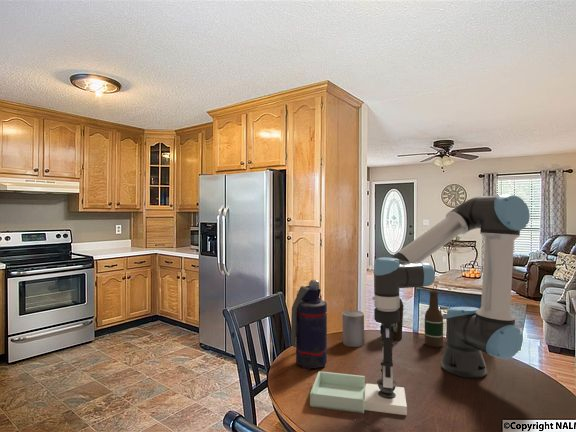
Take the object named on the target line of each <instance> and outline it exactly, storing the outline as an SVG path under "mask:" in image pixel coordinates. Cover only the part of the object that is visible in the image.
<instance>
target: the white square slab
mask: <svg viewBox="0 0 576 432" xmlns="http://www.w3.org/2000/svg"><path fill="white" fill-rule="evenodd" d="M365 387H366V388H365V401H364V411H371V412H377V413H378V412H379V413H385V414H394V415H400V416H401V415H402V416H407V415H408V405H407V400H406V399H407V397H406V391H405V387H402V386H396V387H395V390H394V391H393V392H394V393H395V394H396V396H395V398H392V399H386V398H382V397H380V396H379V395H378V392H379V391H380V389H379V387H378V384H375V383H365Z"/></svg>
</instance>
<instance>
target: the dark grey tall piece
mask: <svg viewBox="0 0 576 432" xmlns="http://www.w3.org/2000/svg"><path fill="white" fill-rule="evenodd" d="M386 362H390V361H386ZM381 363H383V359H382V360H381ZM380 371H381V378H379V379H378V380H377V381H376V383H377V384H376V385H378V387H379V389H380V391H379V392H378V395H379V396H380V397H382V398H386V399H392V398H395V396H396V394H395V393H394V392H393V391H394V390H395V387H397V382H396V381H395V380H393V388H385V387H383V366H381V369H380Z"/></svg>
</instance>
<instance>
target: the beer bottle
mask: <svg viewBox="0 0 576 432" xmlns="http://www.w3.org/2000/svg"><path fill="white" fill-rule="evenodd" d="M428 293H429V303H428V308H427V310H426V312H425V313H424V344H425V345H426V346H428V347H431V348H441V347H443V346H444V317H443V314H442V312H441V311H440V307H439V298H438V297H439V291H437V290H435V289H431V290H429V292H428Z"/></svg>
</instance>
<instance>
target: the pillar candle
mask: <svg viewBox="0 0 576 432" xmlns="http://www.w3.org/2000/svg"><path fill="white" fill-rule="evenodd" d="M342 344H343V345H344V346H346V347H350V348H351V347H352V348H353V347H354V348H355V347H357V348H358V347H359V348H360V347H363V346H364V345H365V314H364V312H363V311H360V310H353V309H352V310H350V309H349V310H345V311H342Z"/></svg>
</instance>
